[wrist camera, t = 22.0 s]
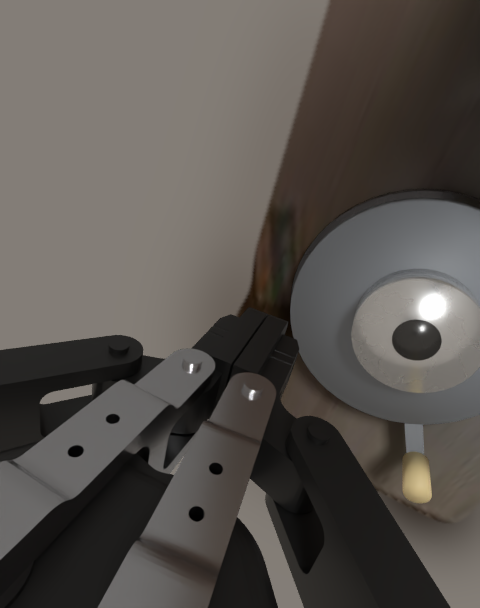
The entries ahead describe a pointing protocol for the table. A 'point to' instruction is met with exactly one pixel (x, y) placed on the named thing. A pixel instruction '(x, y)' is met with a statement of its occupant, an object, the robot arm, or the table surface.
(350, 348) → the turntable
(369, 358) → the cover
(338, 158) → the table surface
